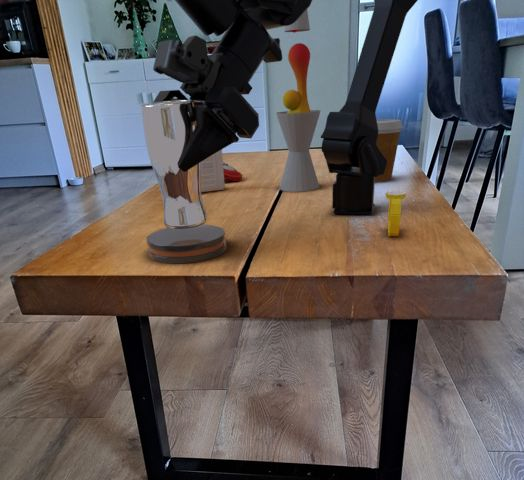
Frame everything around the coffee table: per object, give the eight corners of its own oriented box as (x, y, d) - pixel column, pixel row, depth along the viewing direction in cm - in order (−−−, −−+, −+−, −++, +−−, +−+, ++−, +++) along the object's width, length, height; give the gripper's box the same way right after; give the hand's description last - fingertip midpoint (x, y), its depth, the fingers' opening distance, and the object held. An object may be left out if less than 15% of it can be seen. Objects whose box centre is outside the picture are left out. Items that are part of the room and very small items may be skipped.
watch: (382, 228, 75) (385, 188, 72) (401, 228, 74) (404, 187, 71) (383, 239, 70) (386, 196, 67) (403, 239, 69) (407, 196, 66)
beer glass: (219, 216, 70) (205, 98, 62) (197, 231, 64) (178, 104, 56) (176, 214, 72) (157, 101, 64) (151, 229, 66) (127, 107, 59)
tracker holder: (251, 174, 118) (214, 169, 112) (246, 192, 120) (210, 188, 115) (228, 158, 126) (193, 152, 120) (224, 175, 128) (189, 170, 122)
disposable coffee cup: (353, 177, 114) (354, 120, 109) (394, 174, 114) (398, 118, 108) (358, 184, 106) (361, 124, 100) (402, 182, 106) (407, 121, 100)
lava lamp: (309, 182, 112) (308, -6, 95) (327, 188, 104) (329, -14, 87) (272, 186, 109) (264, -5, 92) (288, 193, 102) (283, -14, 85)
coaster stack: (236, 240, 73) (235, 224, 72) (210, 264, 64) (208, 247, 63) (169, 239, 76) (166, 223, 75) (135, 262, 66) (131, 244, 65)
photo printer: (220, 187, 112) (215, 128, 106) (228, 189, 109) (223, 129, 103) (178, 193, 108) (170, 132, 102) (184, 196, 105) (176, 133, 99)
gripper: (155, 22, 65) (93, 121, 65) (228, -1, 51) (149, 126, 51) (213, 85, 72) (157, 174, 73) (290, 80, 59) (221, 190, 59)
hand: (168, 167), depth 64 cm, fingers closed on beer glass, 7 cm apart
